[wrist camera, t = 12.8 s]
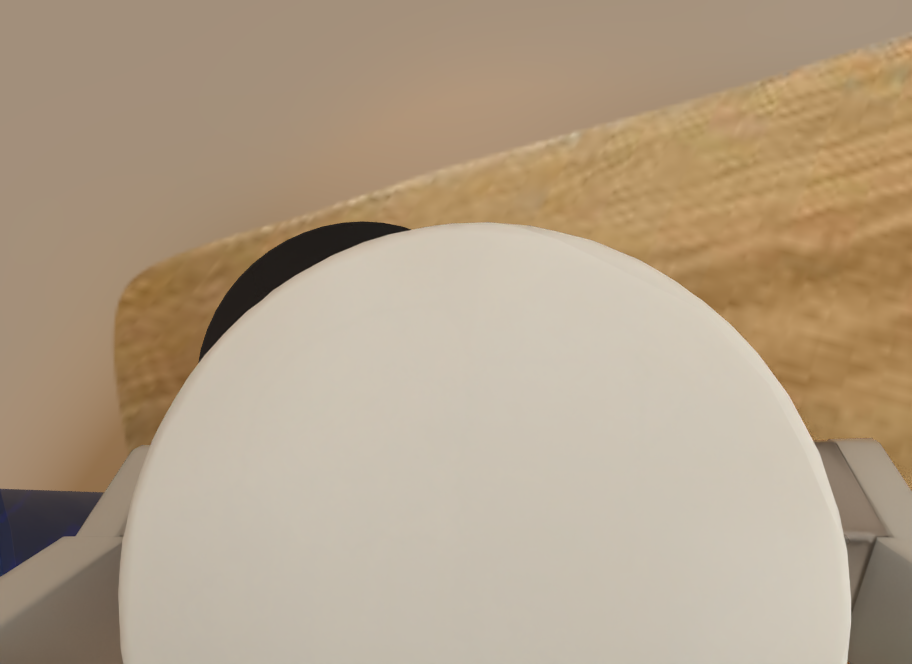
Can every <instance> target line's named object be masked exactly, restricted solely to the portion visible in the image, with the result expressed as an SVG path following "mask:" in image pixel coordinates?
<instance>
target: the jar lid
mask: <svg viewBox="0 0 912 664" xmlns="http://www.w3.org/2000/svg"><path fill="white" fill-rule="evenodd" d="M409 230H411V229H408V228H405V227H401V226H396V225H391V224H386V223H377V222H347V223H339V224H334V225H328V226H323V227H320V228H317V229H314V230H311V231H307V232H304V233H302V234H300V235H298V236H296V237H293V238H291V239H289V240H287V241H285V242H283V243H282V244H280V245H278V246H277V247H275V248H273V249H272V250H270V251H269V252H267V253H266V254H265V255H264V256H262V257H261V258H260V259H258V260H257V261H256V262H255V263H253V264H252V265H251V266H250V267H249V268H248V269H247V270H246V271H245V272H244V273H243V274H242V275H241V276H240V277H239V278H238V280H237V281H236V282H235V283H234V285H233V286H232V287H231V288H230V290H229V291H228V292H227V294H226V295H225V297H224V298H223V300H222V302H221V303H220V305H219V307H218V308H217V310H216V312H215V314H214V316H213V318H212V320H211V322H210V325H209V327H208V329H207V332H206V335H205V338H204V341H203V345H202V348H201V352H200V357H199V362H200V361H201V359H202V358H203V357H204V355H205V354H206V353H207V352H208V351H209V350H210V349H211V348H212V347H213V345H214V344H215V343H216V342H217V341H218V340H219V339H220V338H221V337H222V335H223V334H224V333H225V332H226V331H227V330H228V329H229V328H230V327H231V326H232V325H233V324H234V323H235V322H236V321H237V320H238V319H239V318H241V317H242V316H243V315H244V314H245V313H246V312H247V311H248V310H249V309H251V308H252V307H253V306H255V305H256V304H258V303H259V302H260V301H262V300H263V299H264V298H265V297H266V296H267V295H268V294H269V293H270V292H272V291H273V290H274V289H276V288H277V287H279V286H280V285H282V284H283V283H285V282H286V281H288V280H289V279H291V278H292V277H294V276H295V275H297V274H299V273H301V272H303V271H304V270H306V269H308V268H310V267H312V266H314V265H315V264H317V263H319V262H321V261H323V260H325V259H326V258H328V257H330V256H332V255H334V254H337V253H339V252H341V251H344V250H346V249H349V248H351V247H353V246H356V245H358V244H360V243H363V242H366V241H369V240H372V239H376V238H379V237H383V236H386V235H389V234H394V233H399V232H404V231H409Z"/></svg>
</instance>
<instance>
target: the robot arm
mask: <svg viewBox="0 0 912 664" xmlns="http://www.w3.org/2000/svg"><path fill="white" fill-rule="evenodd" d="M813 442H814V444H815V446H816V447H817V449H818V451H819V453H820V456H821V459H822V462H823V465H824V468H825V472H826V475H827V478H828V481H829V484H830V487H831V490H832V493H833V496H834V499H835V502H836V505H837V508H838V511H839V515H840V519H841V524H842V529H843V534H844V538H845V543H846V548H847V554H848V567H849V579H850V592H851V629H850V639H849V649H848V659H847V661H848V662H849V663H850V664H912V491H911V490H910V488H909V487H908V485H907V483H906V482H905V480H904V479H903V477H902V476H901V474H900V473H899V471H898V470H897V468H896V467H895V465H894V464H893V462H892V461H891V459H890V458H889V456H888V455H887V453H886V452H885V450H884V449H883V447H882V446H881V444H880V443H879V442H877V441H876V440H874V439H873V438H853V439H829V440H827V441H826V440H813ZM149 448H150V445H141V446H139V447H137V448H135V449H134V450H132V451H131V452H130V454H129V456H128V457H127V459H126V460H125V462H124V463H123V465H122V466H121V468H120V469H119V471H118V472H117V474H116V475H115V477H114V478H113V480H112V482H111V483H110V484H109V486H108V488H107V489H106V491H105V492H104V494H103V495H102V497H101V498H100V500H99V501H98V503H97V504H96V506H95V507H94V509H93V510H92V512H91V513H90V515H89V516H88V518H87V520H86V521H85V523H84V524H83V526H82V527H81V529H80V530H79V532H78V533H77V535H76V536H73V537H62V538H61V539H59V540H58V541H56V542H55V543H53V544H51V545H50V546H48V547H47V548H45V549H44V550H42V551H40V552H39V553H37V554H36V555H34V556H33V557H31V558H30V559H28V560H26V561H25V562H23V563H22V564H20V565H19V566H17V567H15V568H14V569H12V570H11V571H9V572H8V573H6V574H5V575H3V576H1V577H0V664H123V660H122V654H121V646H120V625H119V603H118V588H119V572H120V559H121V550H122V540H123V536H124V533H125V529H126V524H127V519H128V513H129V508H130V503H131V499H132V496H133V493H134V490H135V487H136V484H137V481H138V478H139V475H140V471H141V469H142V466H143V463H144V461H145V458H146V456H147V453H148V450H149Z"/></svg>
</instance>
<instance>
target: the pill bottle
mask: <svg viewBox="0 0 912 664" xmlns="http://www.w3.org/2000/svg"><path fill="white" fill-rule="evenodd" d="M118 603H119V625H120V646H121V654H122V660H123V664H847V659H848V649H849V639H850V629H851V592H850V579H849V567H848V554H847V548H846V543H845V538H844V534H843V529H842V524H841V519H840V515H839V511H838V508H837V505H836V502H835V499H834V496H833V493H832V490H831V487H830V484H829V481H828V478H827V475H826V472H825V468H824V465H823V462H822V459H821V456H820V453H819V451H818V449H817V447H816V446H815V444H814V442H813V440H812V438H811V436H810V434H809V432H808V430H807V429H806V427H805V425H804V423H803V421H802V419H801V417H800V415H799V413H798V412H797V410H796V408H795V406H794V404H793V402H792V401H791V399H790V397H789V395H788V394H787V392H786V391H785V389H784V388H783V387H782V385H781V384H780V383H779V381H778V380H777V379H776V377H775V376H774V375H773V373H772V372H771V370H770V369H769V368H768V366H767V365H766V364H765V362H764V361H763V360H762V358H761V357H760V356H759V354H758V353H757V352H756V351H755V350H754V349H753V348H752V347H751V346H750V345H749V343H748V342H747V341H746V340H745V339H744V338H743V337H742V336H741V335H740V334H739V333H738V332H737V331H736V329H735V328H734V327H733V326H732V325H731V324H729V323H728V322H727V321H726V320H725V319H724V318H722V317H721V316H720V315H719V314H718V313H717V312H715V311H714V310H713V309H712V308H711V307H710V306H708V305H707V304H706V303H705V302H704V301H703V300H701V299H700V298H698V297H697V296H695V295H694V294H692V293H691V292H689V291H688V290H687V289H685V288H684V287H683V286H682V285H680V284H679V283H677V282H676V281H674V280H673V279H671V278H669V277H668V276H666V275H664V274H663V273H661V272H660V271H658V270H656V269H654V268H653V267H651V266H649V265H648V264H646V263H644V262H642V261H641V260H638V259H636V258H633V257H631V256H629V255H626V254H624V253H622V252H619V251H617V250H614V249H612V248H610V247H607V246H605V245H603V244H600V243H598V242H595V241H593V240H589V239H585V238H581V237H577V236H573V235H569V234H565V233H561V232H557V231H553V230H548V229H543V228H539V227H534V226H528V225H516V224H504V223H491V222H483V223H451V224H444V225H437V226H430V227H424V228H419V229H414V230H409V231H404V232H399V233H394V234H389V235H386V236H383V237H379V238H376V239H372V240H369V241H366V242H363V243H360V244H358V245H356V246H353V247H351V248H349V249H346V250H344V251H341V252H339V253H337V254H334V255H332V256H330V257H328V258H326V259H325V260H323V261H321V262H319V263H317V264H315V265H314V266H312V267H310V268H308V269H306V270H304V271H303V272H301V273H299V274H297V275H295V276H294V277H292V278H291V279H289V280H288V281H286V282H285V283H283V284H282V285H280V286H279V287H277V288H276V289H274V290H273V291H272V292H270V293H269V294H268V295H267V296H266V297H265V298H264V299H263V300H262V301H260V302H259V303H258V304H256V305H255V306H253V307H252V308H251V309H249V310H248V311H247V312H246V313H245V314H244V315H243V316H242V317H241V318H239V319H238V320H237V321H236V322H235V323H234V324H233V325H232V326H231V327H230V328H229V329H228V330H227V331H226V332H225V333H224V334H223V335H222V337H221V338H220V339H219V340H218V341H217V342H216V343H215V344H214V345H213V347H212V348H211V349H210V350H209V351H208V352H207V353H206V354H205V355H204V357H203V358H202V359H201V361H200V362H199V363H198V365H197V366H196V367H195V369H194V370H193V371H192V373H191V374H190V375H189V377H188V378H187V380H186V381H185V383H184V385H183V386H182V388H181V389H180V391H179V393H178V394H177V396H176V397H175V399H174V401H173V402H172V404H171V406H170V408H169V410H168V411H167V413H166V415H165V417H164V419H163V420H162V422H161V424H160V426H159V428H158V430H157V432H156V434H155V436H154V438H153V440H152V443H151V445H150V448H149V450H148V453H147V456H146V458H145V461H144V463H143V466H142V469H141V471H140V475H139V478H138V481H137V484H136V487H135V490H134V493H133V496H132V499H131V503H130V508H129V513H128V519H127V524H126V529H125V533H124V536H123V540H122V550H121V559H120V572H119V588H118Z"/></svg>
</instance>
